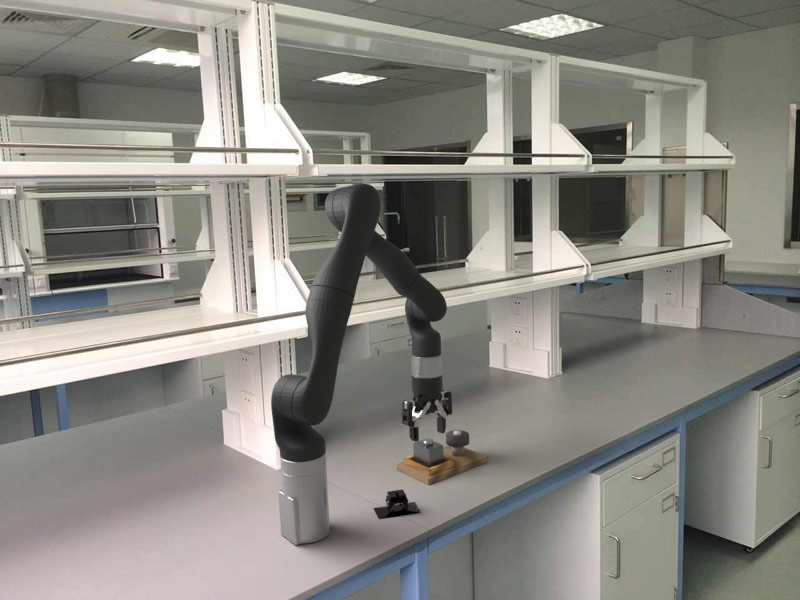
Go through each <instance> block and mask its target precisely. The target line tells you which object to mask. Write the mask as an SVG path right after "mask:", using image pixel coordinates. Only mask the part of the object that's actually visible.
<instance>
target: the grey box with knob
mask: <svg viewBox="0 0 800 600" xmlns="http://www.w3.org/2000/svg"><path fill="white" fill-rule="evenodd" d="M412 443H413V449H412V450H413V455H414V461H415V462H417V463H419V464H421V465H424V466H426V467H428V468H431V467H433V466H436V465H439V464H441V463H444V457H443V447H444V444H443V443H439V442H437V441H434V439H433V438H424V439H422V440H419V441H417V442H415V441H414V442H412Z"/></svg>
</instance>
